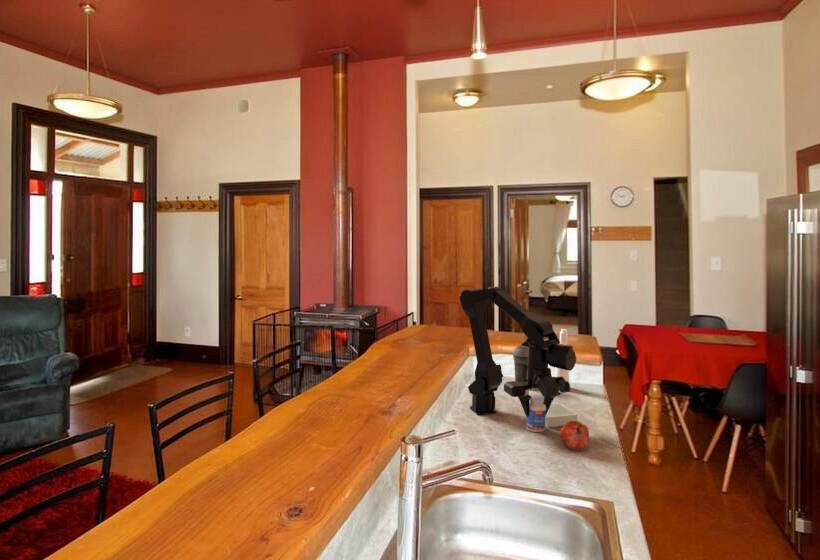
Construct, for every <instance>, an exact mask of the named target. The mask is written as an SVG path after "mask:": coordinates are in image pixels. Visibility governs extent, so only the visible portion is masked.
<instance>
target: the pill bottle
mask: <svg viewBox="0 0 820 560" xmlns="http://www.w3.org/2000/svg"><path fill="white" fill-rule="evenodd" d="M529 395H530V396H531V399H530V400H529V417H527V416H526V415H525V416H526V418H525V419H526V420H525V428H526V429H527V430H528V431H529V432H530V431H531V432H534V433H535V432H536V433H541V432H544V431H545V430H546V429H545V428H546V426H545V417H546V405H545V404H544V403H543V402H544V396H542V394H529Z"/></svg>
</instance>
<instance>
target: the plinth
mask: <svg viewBox="0 0 820 560" xmlns="http://www.w3.org/2000/svg"><path fill="white" fill-rule="evenodd" d="M570 421H576V422H578V413H576V412H574V411H573V410H571V409H569V408H568V407H566V406H564V405H563V404H562V403H560V402H556V403H555V402H554V403H553V402H552V403H551V405H550V407H549V410H548V412H547V414H546V417H545V428H553V427H563V426H564V425H565V424H566V423H567V422H570Z"/></svg>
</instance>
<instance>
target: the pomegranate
mask: <svg viewBox="0 0 820 560" xmlns="http://www.w3.org/2000/svg"><path fill="white" fill-rule="evenodd" d="M589 434H590V432H589V428H587V426H586V425H584V424H581V423H580V422H578V421H577V422H576V421H570V422H567V423H566V424H565V425H564V426H562V427H561V428H560V432H559V435H560V438H561V441H562V443H563V445H564V446H565V447H566V448H568V450H569V449H570V450H572V451H573V450H574V451H575V450H579V451H583V450H585V449H586V448H587V447H588V446H589V443H590V438H589V437H590V435H589Z"/></svg>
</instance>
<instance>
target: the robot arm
mask: <svg viewBox="0 0 820 560" xmlns="http://www.w3.org/2000/svg"><path fill="white" fill-rule="evenodd" d="M488 301H490V302H492V303H493V304H495V305H496V307H498V308H499V309H501V310H502V311H503V312H504V313H506V315H508V316H509V317H510V318H511V319H513V321H515V322H516V323H517V324H518V326H519V328H520V330H521V332H522V334H523V333H524V336H525V337H526V340H524V342H523V341H522V343H521V345H522V346H526V347H528V364H525V368H527V369H528V373H527V378H525V382H527V384H521V383H519V382H518V381H515V380H513V381H506V382H505V383H504V384H503V392H505V393H506V394H507V395H509V396H511V397H512V398H518V400H519V402H520V405H521V406H522V410H523V412H524V415H525V416H527V417H529V402H530V399H531V396H530V395H531V394H530V392H531V391H532V392H533V391H539V392H540V395H542V396H544V402H543V403H544V404H545V405H546V414H547V412H548V410H549V407H550V405H551V404H553V401H554V399H555V398H556V397H558V396H561V394H562V393H563V394H564V393H570V392H571V384H570V381H569V382H568V381H566V380H565V379H564V378H563V377H555V376H552V370H551V369H552V368H555V369H556V368H560V369H564V370H569V372H570V371H572V370H573V369H574V367H575V365H576V363H577V362H576V361H577V356H576V353H575V351H574V350H573V348H574V347H573V345H570V344H567V345H563V344H560V338H558V335H557V334H556V333H555V331H554V328H553V324H552V322H551V321H550V320H549V319H547V318H544V317H543V316H541V315H539V314H536V313H533V312H531V311H529V310H528V309H527V308H525V307H524V306H523V305H521V303H519V302H518V301H516V300H515V298H513V297H512V296H511V295H510V294H508V293H507V292H506V291H504V290H503V288H502V287H501V286H490V287H487V288H484V289H482V288H478V287H477V288H470V289H465V290H462V292H461V293H460V294H459V303H460V306H461V308H462V311H463V312H464V313H465V315H466V316H467V317H468V319H469V324H470V325H469V326H470V330H471V336H472V342H473V346H474V351H475V352H474V353H475V356H476V362H477V363H476V367H475V370H474V381H473V382H471V383H470V385H468V386H467V388H468V393H469V394H471V399H472V400H471V406H469V408H470V409H471V411H473V412H474V413H475V414H476V415H478V416H479V415H490V414H496V413H497V411H496V396H495V392H497V391H498V390H499V387H500V386H501V384H502V383H503V378H504V374H503V372H502V365H501V364H497V363H496V362H495V361H494V358H493V355H492V354H493V353H492V348H491V344H490V338H489V333H488V328H487V322H486V318H485V317H486V316H485V314H486V310H487V307H488V305H487V304H488ZM549 366H550V367H552V368H550V367H549Z"/></svg>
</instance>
